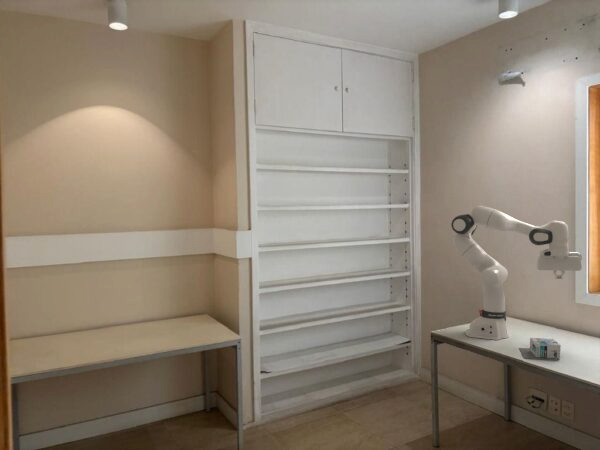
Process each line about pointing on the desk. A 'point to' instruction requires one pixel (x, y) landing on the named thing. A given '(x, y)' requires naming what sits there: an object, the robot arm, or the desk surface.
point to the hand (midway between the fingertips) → (558, 278)
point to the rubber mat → (532, 355)
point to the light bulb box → (545, 348)
